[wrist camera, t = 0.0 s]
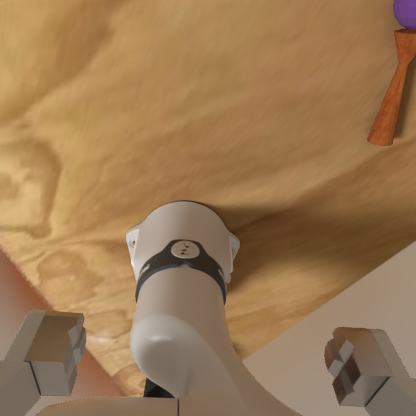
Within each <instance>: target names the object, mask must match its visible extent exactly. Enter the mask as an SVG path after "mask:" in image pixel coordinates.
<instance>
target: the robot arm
mask: <svg viewBox="0 0 416 416" xmlns="http://www.w3.org/2000/svg"><path fill="white" fill-rule="evenodd" d="M126 240H127V244H128V248H129V252H130V257H131V265H132V266H133V269H134V273H135V278H136V282H137V283H136V295H135V297H136V303H137V305H136V310H135V315H134V320H133V325H132V330H131V335H130V349H131V353H132V356H133V358H134V360H135V362H136V364H137V365H138V367H139V368H140V370H141V371H142V372H143V374H144V375H145V376H146V377H147V378H148V379H150V380H151V381H152V382H154V383H155V384H157V385H159V386H160V387H162V388H164V389H165V390H167V391H168V392H169V393H171V394H172V395H173V396H174V397H175V398H151V397H124V396H99V397H92V398H86V399H80V400H74V401H69V402H64V403H60V404H54V405H49V406H47V407H45V408H44V409H42V410H41V411H40V412H39V413H38V414H36V415H35V416H302V415H301V414H299V413H298V412H296V411H294V410H293V409H291V408H289V407H288V406H286V405H285V404H283V403H282V402H281V401H279V400H278V399H277V398H275V397H274V396H273V395H272V394H271V393H269V392H268V391H267V390H266V389H265V388H264V387H263V386H262V385H261V384H260V383H259V382H258V381H257V380H256V379H255V378H254V377H253V375H252V374H251V373H250V372H249V371H248V369H247V368H246V367H245V365H244V364H243V362H242V361H241V360H240V358H239V356H238V355H237V353H236V351H235V349H234V347H233V345H232V342H231V339H230V336H229V331H228V326H227V321H226V316H225V309H224V305H225V302H226V294H227V286H226V283H230V281H231V275H230V273H232V272H233V261H234V258H235V256H236V254H237V252H238V249H239V247H240V241H239V239H238V238H237V237H236V236H235V235H234V234H232V233H231V232H229V231H228V230H227V228H226V227H225V225H224V223H223V222H222V220H221V219H220V217H219V216H218V215H217V214H216V213H215V212H213V211H212V210H211V209H209V208H207V207H205V206H203V205H201V204H198V203H193V202H185V201H183V202H173V203H169V204H166V205H163V206H161V207H159V208H157V209H156V210H154V211H153V212H152V213H151V214H150V215H149V216H148V217H147V218H146V219H145V220H144V221H143V222H142V223H141V224H139V225H137V226H135V227H133V228H131V229H129V230H128V231H127V234H126ZM133 241H135V243H134V242H133ZM83 323H84V315H83V313H73V312H59V311H47V310H31V311H30V312H29V313H28V314H27V315H26V317H25V319H24V321H23V323H22V325H21V327H20V329H19V331H18V333H17V334H16V337H15V338H14V340H13V342H12V344H11V346H10V348H9V351H8V352H7V354H6V356H5V358H4V360H3V361H0V416H24V415H25V414H26V413H27V412H28V411H29V410H30V409H31V408H32V407H33V406H34V405H35V403H36V402H37V401H38V400H39V399H40V398H41V397H40V396H71V393H72V389H73V386H74V383H75V380H76V376H77V369H76V364H77V363H78V362H80V361H81V360H82V357H83V353H84V350H85V344H86V329H85V328H84V327H83ZM332 334H333V337H334V338H333V339H331V340H330V341H328V342H327V345H326V347H325V354H324V357H325V363H326V366H327V370H328V371H329V372H330V373H331V374H332V375H333V376H334V377H335V378H334V381H333V383H332V385H333V388H334V391H335V394H336V397H337V400H338V403H339V405H340V406H357V407H365V410H366V411H367V412H368V413H369V414H370V416H416V379H414V378H410V376H409V374H408V373H407V371H406V369H405V367H404V365H403V363H402V361H401V359H400V358H399V356H398V354H397V352H396V350H395V349H394V346H393V345H392V343H391V341H390V339H389V337H388V336H387V334H386V332H385V331H384V330H381V329H366V328H348V327H347V328H346V327H338V328H336V329H335V330H334V331H333V333H332Z"/></svg>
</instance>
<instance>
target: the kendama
mask: <svg viewBox="0 0 416 416" xmlns="http://www.w3.org/2000/svg"><path fill="white" fill-rule="evenodd" d="M393 7H394V16H395V17H396V19H397V21H398V22H399V24H400V25H402V26H404V27H405V28H407V29H406V30H396V31H394V33H395V40H396V46H397V53H398V59H399V65H398V67H397V69H396V72H395V74H394V77H393V79H392V81H391V84H390V86H389V88H388V91H387V93H386V96H385V98H384V100H383V103H382V105H381V107H380V110H379V112H378V115H377V117H376V119H375V122H374V124H373V127H372V129H371V131H370V134H369V136H368V138H367V141H369V142H370V143H372V144H375V145H380V146H389V145H392V144H393V140H394V135H395V130H396V125H397V120H398V115H399V110H400V105H401V100H402V95H403V90H404V85H405V80H406V75H407V70H408V65H409V63H410V62H411V61H412V60H413V58H414V57H415V56H416V0H395V1H394V4H393Z"/></svg>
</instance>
